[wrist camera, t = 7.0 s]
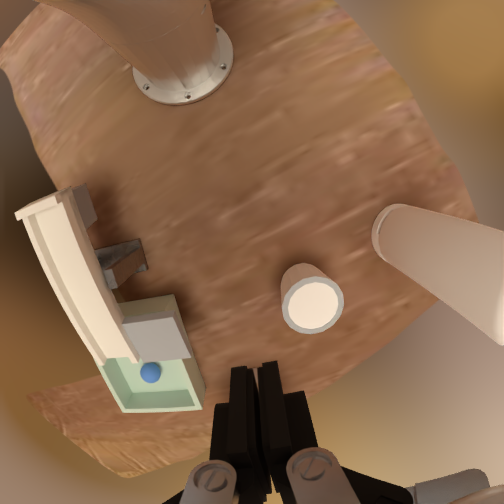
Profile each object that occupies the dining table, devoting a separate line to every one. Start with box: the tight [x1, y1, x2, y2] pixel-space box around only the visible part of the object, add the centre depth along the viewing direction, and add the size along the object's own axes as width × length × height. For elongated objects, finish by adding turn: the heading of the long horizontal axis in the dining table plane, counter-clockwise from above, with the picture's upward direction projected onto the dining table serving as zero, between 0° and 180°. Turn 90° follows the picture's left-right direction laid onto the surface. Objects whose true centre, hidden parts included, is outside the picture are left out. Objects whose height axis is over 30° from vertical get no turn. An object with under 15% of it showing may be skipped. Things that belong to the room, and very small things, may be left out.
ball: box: [140, 363, 161, 383], centre depth 38 cm, size 3×3×3 cm
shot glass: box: [281, 263, 344, 334], centre depth 34 cm, size 7×7×7 cm
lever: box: [15, 183, 192, 366], centre depth 28 cm, size 21×12×6 cm, turn 12°
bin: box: [93, 294, 206, 413], centre depth 37 cm, size 16×13×5 cm
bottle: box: [371, 204, 504, 346], centre depth 23 cm, size 8×8×28 cm
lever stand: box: [94, 239, 148, 289], centre depth 32 cm, size 4×8×10 cm, turn 101°
